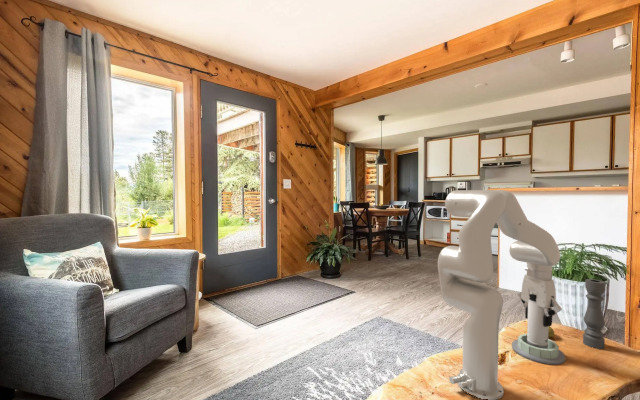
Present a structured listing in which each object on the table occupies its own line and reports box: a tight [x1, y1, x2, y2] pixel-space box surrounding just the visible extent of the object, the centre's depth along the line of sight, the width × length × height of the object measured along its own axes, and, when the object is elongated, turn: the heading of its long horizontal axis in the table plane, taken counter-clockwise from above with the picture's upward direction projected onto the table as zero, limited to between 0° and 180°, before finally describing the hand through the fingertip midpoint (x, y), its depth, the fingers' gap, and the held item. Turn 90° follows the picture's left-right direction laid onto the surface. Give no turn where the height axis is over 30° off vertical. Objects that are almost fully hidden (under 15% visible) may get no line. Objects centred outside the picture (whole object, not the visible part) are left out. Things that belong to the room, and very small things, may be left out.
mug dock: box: [511, 333, 566, 366], centre depth 112 cm, size 16×16×4 cm
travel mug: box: [526, 294, 549, 349], centre depth 112 cm, size 6×7×20 cm
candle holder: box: [582, 278, 606, 350], centre depth 117 cm, size 6×6×25 cm
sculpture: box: [548, 326, 555, 339], centre depth 126 cm, size 8×4×8 cm
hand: (538, 321), depth 112 cm, fingers closed on travel mug, 6 cm apart
